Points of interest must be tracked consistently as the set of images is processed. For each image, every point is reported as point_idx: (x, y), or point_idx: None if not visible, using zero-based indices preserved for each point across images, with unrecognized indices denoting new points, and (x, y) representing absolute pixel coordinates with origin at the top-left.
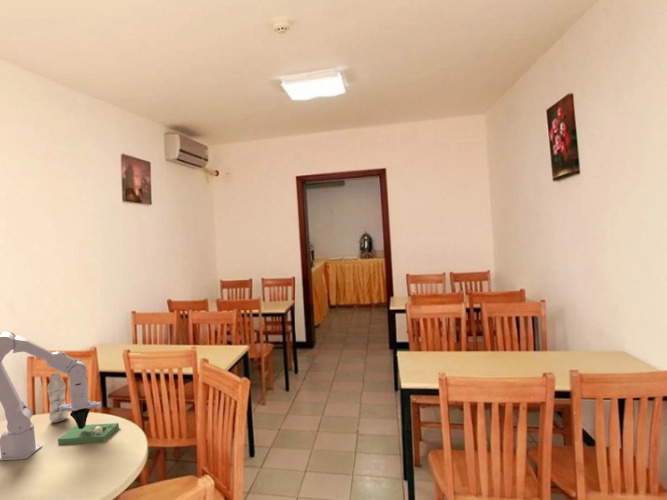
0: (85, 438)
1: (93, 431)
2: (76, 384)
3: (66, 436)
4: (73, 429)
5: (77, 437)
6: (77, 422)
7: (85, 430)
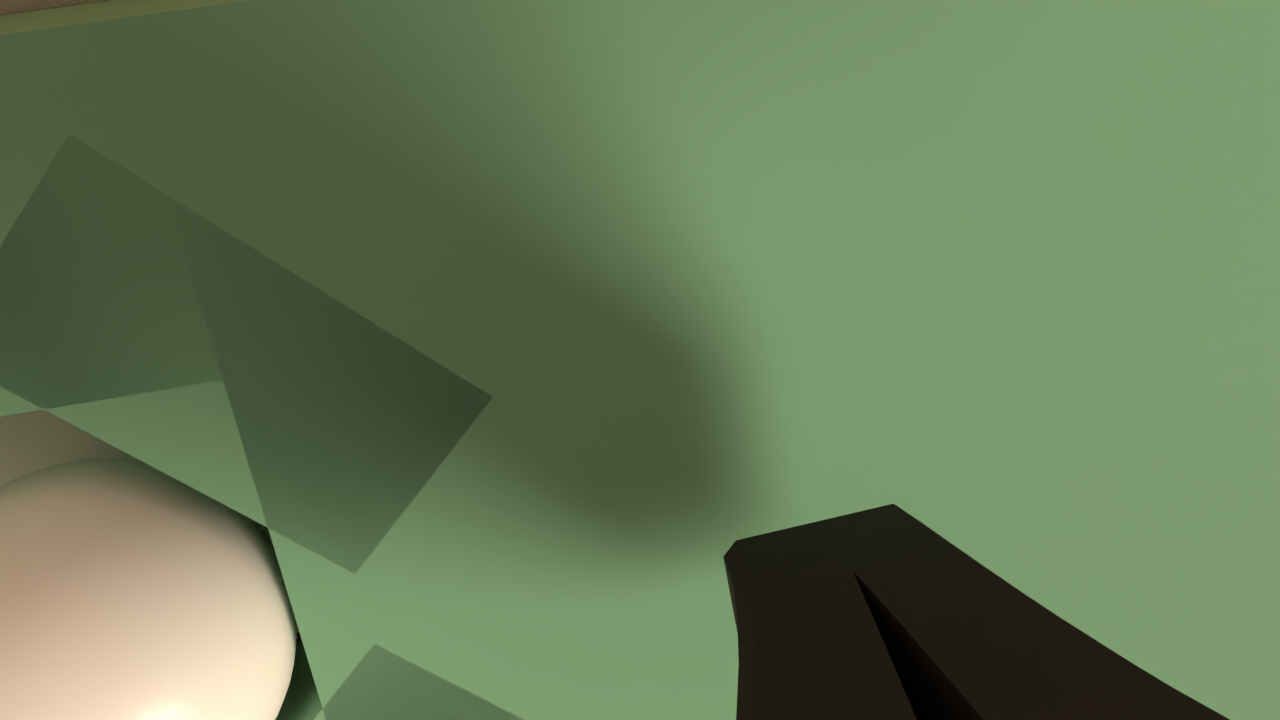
0: (129, 19)
1: (172, 538)
2: None
3: (1231, 81)
4: (1258, 599)
5: (585, 10)
6: (1079, 711)
7: (687, 589)
